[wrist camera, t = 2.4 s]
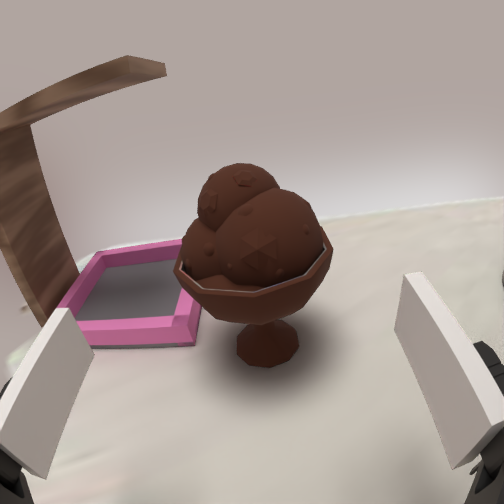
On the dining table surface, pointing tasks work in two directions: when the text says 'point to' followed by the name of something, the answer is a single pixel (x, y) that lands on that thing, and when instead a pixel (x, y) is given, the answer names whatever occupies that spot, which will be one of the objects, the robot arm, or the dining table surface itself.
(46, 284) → the display shelf
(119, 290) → the seat plate
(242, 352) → the ice cream bowl
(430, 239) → the dining table surface
